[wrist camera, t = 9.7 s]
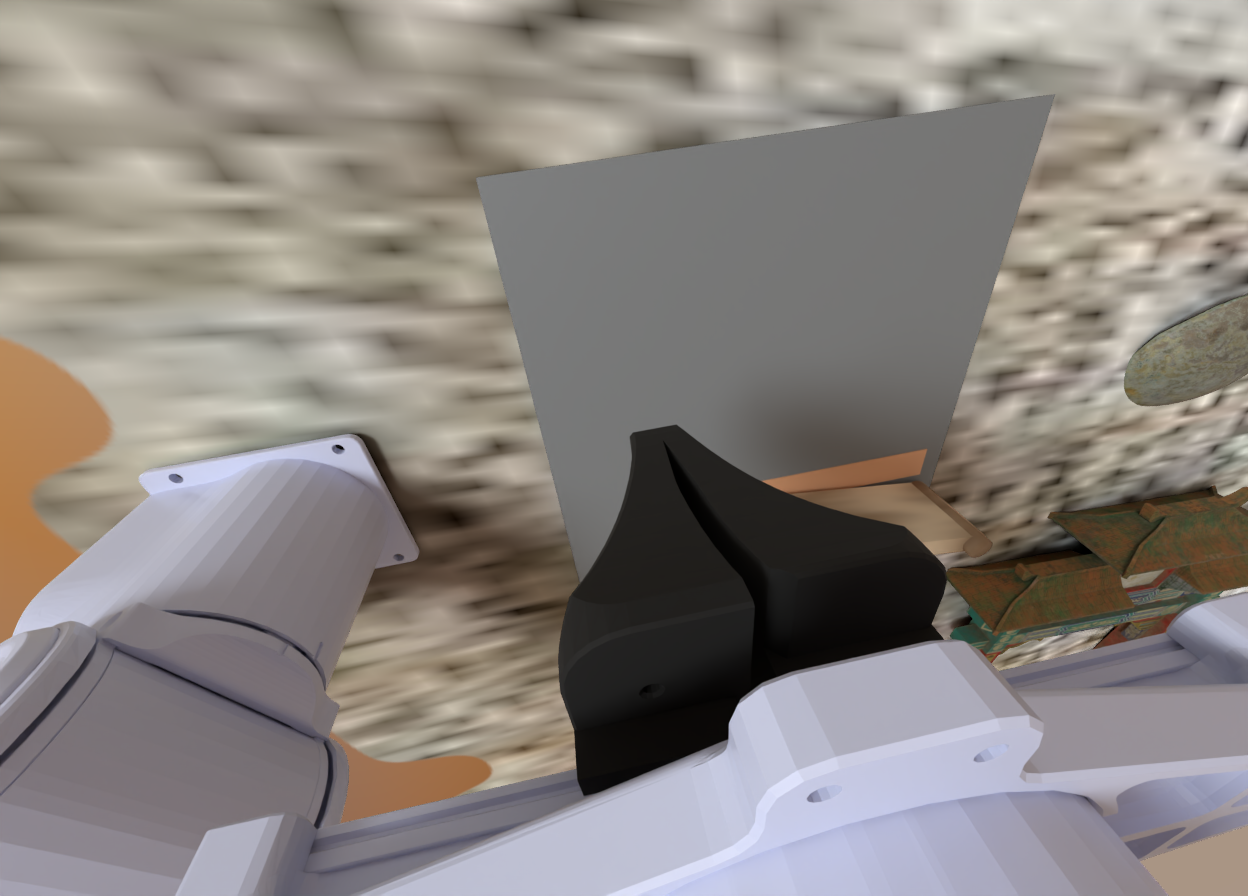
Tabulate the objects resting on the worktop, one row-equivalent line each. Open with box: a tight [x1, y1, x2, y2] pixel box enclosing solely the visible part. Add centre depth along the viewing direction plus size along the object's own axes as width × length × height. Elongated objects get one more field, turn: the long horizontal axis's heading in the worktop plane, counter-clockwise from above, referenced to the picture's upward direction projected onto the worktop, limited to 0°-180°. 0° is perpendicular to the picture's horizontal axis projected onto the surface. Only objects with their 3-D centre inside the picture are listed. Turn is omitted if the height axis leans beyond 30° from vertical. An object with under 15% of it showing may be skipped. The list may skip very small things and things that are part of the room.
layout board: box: [476, 94, 1055, 583], centre depth 23 cm, size 22×32×6 cm
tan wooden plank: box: [791, 481, 992, 558], centre depth 24 cm, size 12×1×5 cm, turn 89°
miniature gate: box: [946, 486, 1248, 663], centre depth 38 cm, size 27×6×30 cm
